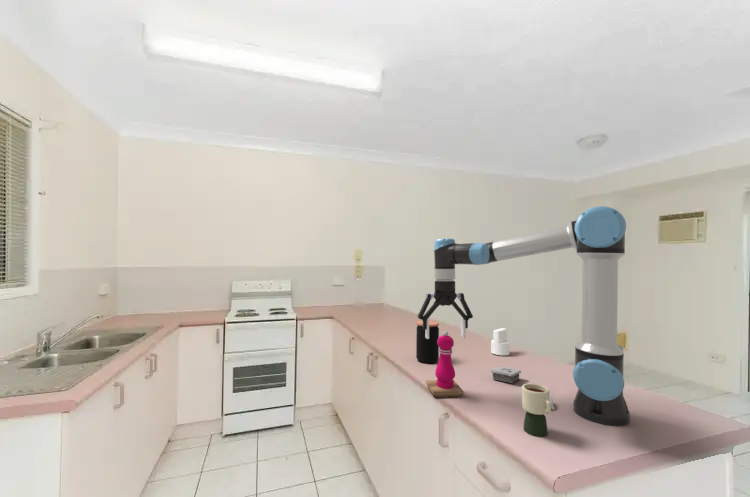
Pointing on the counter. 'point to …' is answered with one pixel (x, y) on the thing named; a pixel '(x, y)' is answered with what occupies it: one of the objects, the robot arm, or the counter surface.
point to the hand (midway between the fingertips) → (445, 337)
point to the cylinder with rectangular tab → (500, 342)
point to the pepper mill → (445, 362)
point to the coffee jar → (427, 343)
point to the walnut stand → (444, 392)
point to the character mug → (535, 408)
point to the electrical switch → (506, 374)
